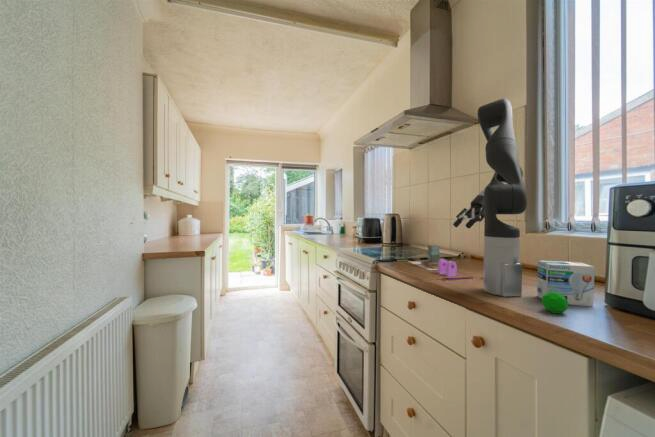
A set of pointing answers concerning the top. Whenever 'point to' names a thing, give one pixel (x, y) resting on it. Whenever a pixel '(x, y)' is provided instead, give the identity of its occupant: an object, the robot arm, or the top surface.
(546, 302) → the green lime
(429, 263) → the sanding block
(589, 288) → the light bulb box
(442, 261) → the bracket
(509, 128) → the robot arm
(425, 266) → the board
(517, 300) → the top surface
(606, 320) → the top surface
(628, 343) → the top surface
